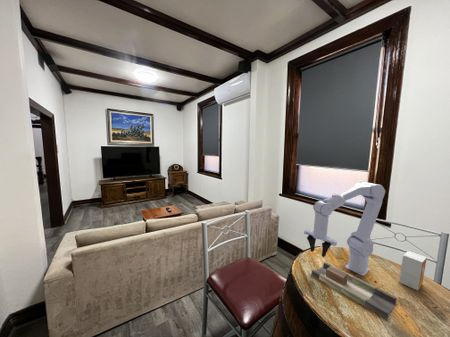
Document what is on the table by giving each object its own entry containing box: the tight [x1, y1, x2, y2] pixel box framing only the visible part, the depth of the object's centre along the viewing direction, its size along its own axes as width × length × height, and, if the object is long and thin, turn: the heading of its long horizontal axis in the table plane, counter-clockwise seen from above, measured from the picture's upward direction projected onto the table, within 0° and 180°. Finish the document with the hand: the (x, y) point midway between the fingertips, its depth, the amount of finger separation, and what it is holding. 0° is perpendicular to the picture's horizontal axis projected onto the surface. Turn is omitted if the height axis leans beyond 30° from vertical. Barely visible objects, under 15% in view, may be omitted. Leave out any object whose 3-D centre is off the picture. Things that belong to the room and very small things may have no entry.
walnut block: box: [326, 264, 348, 286], centre depth 82 cm, size 5×7×4 cm
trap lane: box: [311, 261, 398, 320], centre depth 78 cm, size 13×27×2 cm, turn 36°
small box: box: [398, 250, 427, 291], centre depth 83 cm, size 8×6×13 cm
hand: (317, 253), depth 89 cm, fingers open, 5 cm apart
